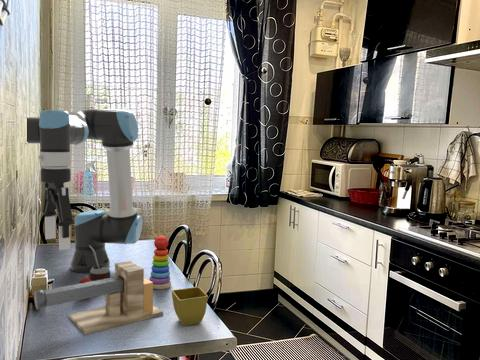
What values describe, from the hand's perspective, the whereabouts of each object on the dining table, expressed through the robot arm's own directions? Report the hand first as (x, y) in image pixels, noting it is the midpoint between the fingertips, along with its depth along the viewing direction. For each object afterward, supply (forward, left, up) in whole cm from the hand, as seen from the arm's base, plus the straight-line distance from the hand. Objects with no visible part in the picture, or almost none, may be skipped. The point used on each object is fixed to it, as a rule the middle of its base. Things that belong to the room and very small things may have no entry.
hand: (57, 243), depth 124 cm
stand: (+1, +17, -25) cm, 30 cm away
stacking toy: (-15, +40, -25) cm, 49 cm away
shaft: (+1, +8, -17) cm, 19 cm away
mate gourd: (-25, +21, -25) cm, 41 cm away
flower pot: (+17, +33, -25) cm, 44 cm away
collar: (+1, +25, -19) cm, 32 cm away
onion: (-18, +14, -25) cm, 34 cm away
